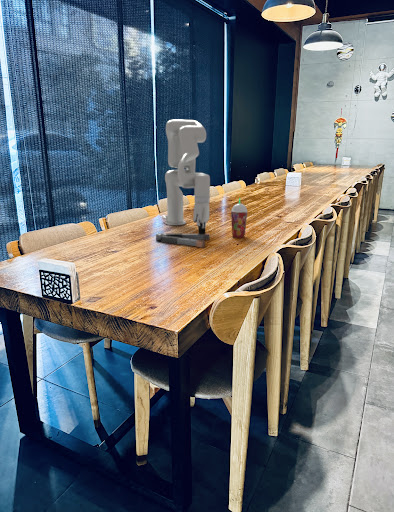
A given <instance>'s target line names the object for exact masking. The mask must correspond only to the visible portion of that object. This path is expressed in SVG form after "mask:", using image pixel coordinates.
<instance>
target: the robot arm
mask: <svg viewBox="0 0 394 512" xmlns="http://www.w3.org/2000/svg"><path fill="white" fill-rule="evenodd" d="M165 133H166V138H167V144H168V149H167V152H168V154H167V163H168V166H169V167H170V168H175V169H171V170H167V171H166V173H165V175H164V181H165V185H166V187H165V188H166V204H167V205H166V207H167V211H166V212H167V215H162V220H165V221H164V224H165V225H167V226H168V225H169V226H182V225H183V226H184V225H185V224H187V221H186V220H184V192H182V190H181V189H180V187H182V189H194V205H193V215H192V216H193V219H192V220H193V221H192V222H193V223H196V227H197V228H198V230H197V234H203V233H206V227H207V223H208V221H209V220H210V197H211V196H210V195H211V194H210V193H211V192H210V191H211V190H210V189H211V178H210V177H211V176H210V175H209V174H206V173H203V172H196V163H197V162H196V160H197V159H196V158H197V157H198V156H200V150H199V146H198V144H199V143H201V144H202V143H205V141H206V139H207V131H206V128H205V127H204V126H203V125H202V124H201V123H200V122H198V121H197V120H194V119H170V120H168V121H167V122H166V124H165Z"/></svg>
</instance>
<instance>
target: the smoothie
mask: <svg viewBox="0 0 394 512" xmlns="http://www.w3.org/2000/svg"><path fill="white" fill-rule="evenodd" d="M230 214H231V215H230V216H231V220H230V221H231V235H232V237H233V238H235V239H236V238H237V239H242V238H244V237H245V235H246V228H247V221H248V220H247V218H248V208H247V206H245V204H243V203H241V197H239V198H238V203H236V204H234V205H233V206H232V209H231V210H230Z"/></svg>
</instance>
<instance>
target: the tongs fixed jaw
mask: <svg viewBox="0 0 394 512" xmlns="http://www.w3.org/2000/svg"><path fill="white" fill-rule="evenodd" d="M161 243H164V244H172V245H183V246H192V247H197V248H204V247H205V246H206V240H194V239H186V238H179V237H172V236H163V237H162V241H161Z"/></svg>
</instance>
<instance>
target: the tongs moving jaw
mask: <svg viewBox="0 0 394 512" xmlns="http://www.w3.org/2000/svg"><path fill="white" fill-rule="evenodd" d="M163 236H172V237H179V238H186V239H194V240H204V241H207V240H208V241H209V240H210V233H208V232H205V233H203V234H198V233H182V232H181V233H174V232H173V233H171V232H170V233H156V234H155V241H157V242H162V237H163Z"/></svg>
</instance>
